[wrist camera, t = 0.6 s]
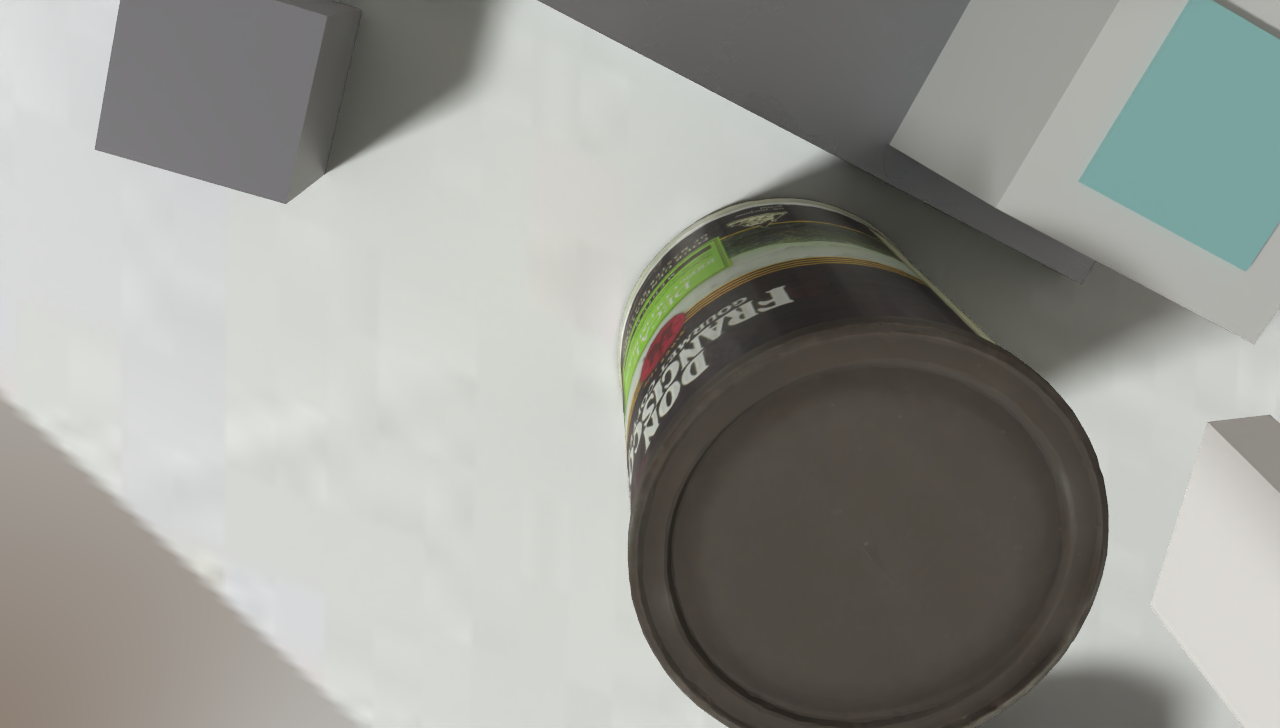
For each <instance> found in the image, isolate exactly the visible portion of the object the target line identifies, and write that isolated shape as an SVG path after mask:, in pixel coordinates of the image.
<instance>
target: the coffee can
mask: <svg viewBox="0 0 1280 728" xmlns="http://www.w3.org/2000/svg"><path fill="white" fill-rule="evenodd" d="M618 373H619V381H620V387H621V390H622V394H623V412H624V423H625V439H626V450H627V467H628V488H629V499H630V508H631V516H630V524H629V532H628V568H629V581H630V586H631V596H632V600H633V604H634V607H635V610H636V614H637V617H638V620H639V623H640V626H641V628H642V631H643V634H644V636H645V638H646V640H647V642H648V644H649V646H650V648H651V649H652V651H653V653H654V654H655V656H656V658H657V659H658V661H659V662H660V664H661V665H662V667H663V669H664V670H665V671H666V673H667V674H668V675H669V677H670V678H671V679H672V680H673V682H674V683H675V684H676V685H677V686H678V687H679V688H680V689H681V691H682V692H683V693H684V694H685V695H687V696H688V697H689V698H690V699H691V700H692V701H693V702H694V703H695V704H696V705H697V706H698V707H700V708H701V709H702V710H704V711H705V712H707V713H708V714H709V715H711V716H712V717H714V718H715V719H717V720H718V721H720V722H721V723H723V724H724V725H726V726H727V727H729V728H975V727H977V726H979V725H981V724H983V723H985V722H987V721H988V720H990V719H992V718H993V717H995V716H996V715H998V714H1000V713H1001V712H1003V711H1004V710H1006V709H1007V708H1008V707H1010V706H1011V705H1012V704H1014V703H1015V702H1016V701H1017V700H1018V699H1019V698H1021V697H1022V696H1024V695H1025V694H1026V693H1027V692H1029V691H1030V690H1031V689H1032V687H1033V686H1035V685H1036V684H1037V683H1038V682H1039V681H1040V680H1041V679H1042V678H1044V677H1045V676H1046V675H1047V673H1048V672H1049V671H1050V670H1051V669H1052V668H1053V667H1054V666H1055V665H1056V663H1057V662H1058V661H1059V660H1060V659H1061V658H1062V656H1063V655H1064V654H1065V652H1066V651H1067V649H1068V648H1069V646H1070V644H1071V643H1072V642H1073V641H1074V639H1075V637H1076V636H1077V634H1078V632H1079V631H1080V629H1081V627H1082V625H1083V623H1084V621H1085V619H1086V617H1087V615H1088V613H1089V611H1090V609H1091V607H1092V605H1093V602H1094V599H1095V596H1096V594H1097V591H1098V588H1099V585H1100V582H1101V578H1102V575H1103V570H1104V566H1105V561H1106V557H1107V547H1108V504H1107V496H1106V490H1105V484H1104V479H1103V475H1102V473H1101V470H1100V467H1099V463H1098V459H1097V456H1096V453H1095V451H1094V449H1093V446H1092V444H1091V442H1090V440H1089V438H1088V436H1087V434H1086V432H1085V430H1084V429H1083V427H1082V425H1081V424H1080V422H1079V420H1078V418H1077V417H1076V415H1075V413H1074V412H1073V410H1072V409H1071V408H1070V407H1069V406H1068V404H1067V403H1066V402H1065V401H1064V400H1063V398H1062V397H1061V396H1060V395H1059V394H1058V393H1057V392H1056V390H1055V389H1054V388H1053V387H1052V386H1051V385H1050V384H1049V383H1048V382H1047V381H1046V380H1045V379H1043V378H1042V377H1041V376H1040V375H1039V374H1038V373H1037V372H1035V371H1034V370H1033V369H1032V368H1030V367H1029V366H1028V365H1026V364H1025V363H1024V362H1022V361H1021V360H1020V359H1018V358H1017V357H1015V356H1014V355H1013V354H1011V353H1010V352H1008V351H1006V350H1005V349H1003V348H1001V347H999V346H998V345H997V344H996V343H995V342H993V341H992V340H991V339H990V338H989V337H988V336H987V335H986V334H985V333H984V332H983V331H982V330H981V329H980V328H979V327H978V326H977V325H976V324H975V323H973V322H972V321H971V320H970V319H969V318H968V317H967V316H966V315H965V314H964V313H963V312H962V311H961V310H960V309H959V308H958V307H957V306H956V305H955V304H954V303H953V302H951V301H950V300H949V299H948V298H947V297H946V296H945V295H944V294H943V293H942V292H941V291H940V290H939V289H938V288H937V287H936V286H935V285H933V284H932V283H931V282H930V281H929V280H928V279H927V278H926V277H925V276H924V275H923V274H922V273H921V272H920V271H919V270H918V269H917V268H915V267H914V266H913V265H912V264H911V263H910V262H909V261H908V260H907V259H906V257H905V256H904V255H903V254H902V252H901V251H900V250H899V249H898V248H897V247H896V246H895V245H894V244H893V243H892V241H891V240H890V239H888V238H887V237H886V236H885V235H884V234H883V233H882V232H881V231H879V230H878V229H876V228H874V227H873V226H872V225H871V224H870V223H869V222H867V221H866V220H864V219H862V218H860V217H858V216H856V215H853V214H851V213H849V212H847V211H845V210H843V209H840V208H837V207H834V206H832V205H828V204H824V203H821V202H816V201H810V200H804V199H789V198H773V199H763V200H755V201H748V202H744V203H740V204H737V205H733V206H730V207H727V208H725V209H722V210H720V211H717V212H715V213H713V214H711V215H708V216H706V217H705V218H703V219H701V220H699V221H697V222H696V223H694V224H693V225H691V226H690V227H688V228H687V229H685V230H684V231H682V232H681V233H680V234H679V235H677V236H676V237H675V238H674V239H673V240H672V241H670V242H669V243H668V244H667V245H666V246H665V247H664V248H663V249H662V250H661V251H660V252H659V253H658V254H657V256H656V257H655V258H654V259H653V260H652V261H651V263H650V264H649V265H648V266H647V267H646V269H645V270H644V271H643V273H642V275H641V276H640V278H639V280H638V282H637V283H636V285H635V287H634V289H633V291H632V293H631V296H630V298H629V300H628V303H627V306H626V309H625V312H624V315H623V318H622V323H621V328H620V334H619V341H618Z"/></svg>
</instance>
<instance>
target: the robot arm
mask: <svg viewBox="0 0 1280 728" xmlns="http://www.w3.org/2000/svg"><path fill="white" fill-rule="evenodd" d="M1150 607H1151V608H1152V609H1153V611H1154V612H1155V613H1156V615H1157V616H1158V617H1159V619H1160V620H1161V621H1162V622H1163V624H1164V625H1165V626H1166V628H1167V629H1168V630H1169V631H1170V633H1171V634H1172V635H1173V637H1174V638H1175V639H1176V641H1177V642H1178V643H1179V644H1180V646H1181V647H1182V648H1183V650H1184V651H1185V652H1186V653H1187V655H1188V656H1189V657H1190V659H1191V660H1192V661H1193V663H1194V664H1195V665H1196V666H1197V668H1198V669H1199V670H1200V672H1201V673H1202V674H1203V675H1204V677H1205V678H1206V679H1207V681H1208V682H1209V683H1210V684H1211V686H1212V687H1213V688H1214V690H1215V691H1216V692H1217V694H1218V695H1219V696H1220V697H1221V699H1222V700H1223V701H1224V703H1225V704H1226V705H1227V706H1228V708H1229V709H1230V710H1231V712H1232V713H1233V714H1234V716H1235V717H1236V718H1237V719H1238V721H1239V722H1240V723H1241V725H1242V726H1243V727H1244V728H1280V423H1278V422H1277V421H1276V420H1275V419H1274V418H1273V417H1272V416H1271V415H1264V416H1256V417H1247V418H1238V419H1230V420H1221V421H1212V422H1208V423H1207V426H1206V429H1205V432H1204V435H1203V439H1202V442H1201V445H1200V448H1199V451H1198V455H1197V458H1196V461H1195V464H1194V467H1193V471H1192V474H1191V477H1190V480H1189V483H1188V487H1187V490H1186V493H1185V496H1184V499H1183V503H1182V506H1181V509H1180V512H1179V515H1178V519H1177V522H1176V525H1175V528H1174V531H1173V535H1172V538H1171V541H1170V544H1169V547H1168V550H1167V554H1166V557H1165V560H1164V563H1163V566H1162V570H1161V573H1160V576H1159V579H1158V582H1157V586H1156V589H1155V592H1154V595H1153V598H1152V602H1151V605H1150Z"/></svg>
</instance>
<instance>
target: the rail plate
mask: <svg viewBox="0 0 1280 728" xmlns="http://www.w3.org/2000/svg"><path fill="white" fill-rule="evenodd" d="M538 1H540V2H542V3H544V4H546V5H548V6H550V7H552V8H553V9H555V10H557V11H559V12H561V13H563V14H565V15H567V16H569V17H571V18H573V19H575V20H576V21H578V22H580V23H582V24H584V25H586V26H588V27H590V28H592V29H594V30H596V31H598V32H599V33H601V34H603V35H605V36H607V37H609V38H611V39H613V40H615V41H617V42H619V43H620V44H622V45H624V46H626V47H628V48H630V49H632V50H634V51H636V52H638V53H640V54H642V55H643V56H645V57H647V58H649V59H651V60H653V61H655V62H657V63H659V64H661V65H663V66H665V67H666V68H668V69H670V70H672V71H674V72H676V73H678V74H680V75H682V76H684V77H686V78H687V79H689V80H691V81H693V82H695V83H697V84H699V85H701V86H703V87H705V88H707V89H709V90H710V91H712V92H714V93H716V94H718V95H720V96H722V97H724V98H726V99H728V100H730V101H732V102H733V103H735V104H737V105H739V106H741V107H743V108H745V109H747V110H749V111H751V112H753V113H755V114H756V115H758V116H760V117H762V118H764V119H766V120H768V121H770V122H772V123H774V124H776V125H777V126H779V127H781V128H783V129H785V130H787V131H789V132H791V133H793V134H795V135H797V136H799V137H800V138H802V139H804V140H806V141H808V142H810V143H812V144H814V145H816V146H818V147H820V148H822V149H823V150H825V151H827V152H829V153H831V154H833V155H835V156H837V157H839V158H841V159H843V160H844V161H846V162H848V163H850V164H852V165H854V166H856V167H858V168H860V169H862V170H864V171H866V172H867V173H869V174H871V175H873V176H875V177H877V178H879V179H881V180H883V181H885V182H887V183H889V184H890V185H892V186H894V187H896V188H898V189H900V190H902V191H904V192H906V193H908V194H910V195H912V196H913V197H915V198H917V199H919V200H921V201H923V202H925V203H927V204H929V205H931V206H933V207H934V208H936V209H938V210H940V211H942V212H944V213H946V214H948V215H950V216H952V217H954V218H956V219H957V220H959V221H961V222H963V223H965V224H967V225H969V226H971V227H973V228H975V229H977V230H979V231H980V232H982V233H984V234H986V235H988V236H990V237H992V238H994V239H996V240H998V241H1000V242H1001V243H1003V244H1005V245H1007V246H1009V247H1011V248H1013V249H1015V250H1017V251H1019V252H1021V253H1023V254H1024V255H1026V256H1028V257H1030V258H1032V259H1034V260H1036V261H1038V262H1040V263H1042V264H1044V265H1046V266H1047V267H1049V268H1051V269H1053V270H1055V271H1057V272H1059V273H1061V274H1063V275H1065V276H1067V277H1069V278H1070V279H1072V280H1074V281H1076V282H1078V283H1080V284H1081V283H1082V281H1083V280H1084V278H1085V277H1086V275H1087V274H1088V272H1089V270H1090V269H1091V267H1092V266H1093V264H1094V262H1095V260H1094V259H1092V258H1090V257H1088V256H1086V255H1084V254H1082V253H1080V252H1078V251H1076V250H1075V249H1073V248H1071V247H1069V246H1067V245H1065V244H1063V243H1061V242H1059V241H1058V240H1056V239H1054V238H1052V237H1050V236H1048V235H1046V234H1044V233H1042V232H1040V231H1039V230H1037V229H1035V228H1033V227H1031V226H1029V225H1027V224H1025V223H1023V222H1021V221H1020V220H1018V219H1016V218H1014V217H1012V216H1010V215H1008V214H1006V213H1004V212H1003V211H1001V210H999V209H997V208H995V207H993V206H992V205H990V204H988V203H987V202H985V201H983V200H982V199H980V198H978V197H976V196H975V195H973V194H971V193H970V192H968V191H966V190H965V189H963V188H961V187H960V186H958V185H956V184H955V183H953V182H951V181H949V180H948V179H946V178H944V177H943V176H941V175H939V174H938V173H936V172H934V171H933V170H931V169H929V168H928V167H926V166H924V165H923V164H921V163H919V162H917V161H916V160H914V159H912V158H911V157H909V156H907V155H906V154H904V153H902V152H901V151H899V150H897V149H896V148H894V147H892V146H890V145H889V144H890V143H891V141H892V139H893V137H894V135H895V134H896V132H897V130H898V128H899V127H900V125H901V123H902V121H903V119H904V118H905V116H906V114H907V112H908V111H909V109H910V107H911V105H912V103H913V102H914V100H915V98H916V96H917V95H918V93H919V91H920V89H921V87H922V86H923V84H924V82H925V80H926V79H927V77H928V75H929V73H930V71H931V70H932V68H933V66H934V64H935V63H936V61H937V59H938V57H939V55H940V54H941V52H942V50H943V48H944V47H945V45H946V43H947V41H948V40H949V38H950V36H951V34H952V32H953V31H954V29H955V27H956V25H957V24H958V22H959V20H960V18H961V16H962V15H963V13H964V11H965V9H966V8H967V6H968V4H969V2H970V0H538Z"/></svg>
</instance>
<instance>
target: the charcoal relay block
mask: <svg viewBox="0 0 1280 728" xmlns="http://www.w3.org/2000/svg"><path fill="white" fill-rule="evenodd" d="M361 12H362V10H361V9H358V8H354V7H351V6H348V5H345V4H341V3H338V2H335V1H332V0H120V5H119V10H118V16H117V22H116V28H115V34H114V40H113V46H112V51H111V57H110V63H109V69H108V75H107V81H106V86H105V92H104V98H103V104H102V110H101V116H100V122H99V127H98V133H97V139H96V145H95V150H98V151H102V152H105V153H109V154H112V155H116V156H119V157H123V158H126V159H130V160H133V161H137V162H140V163H144V164H147V165H151V166H154V167H158V168H161V169H165V170H168V171H172V172H175V173H179V174H182V175H186V176H189V177H193V178H196V179H200V180H203V181H207V182H210V183H214V184H217V185H221V186H224V187H228V188H231V189H235V190H238V191H242V192H245V193H249V194H252V195H256V196H259V197H263V198H266V199H270V200H274V201H277V202H281V203H284V204H287V203H288V202H289V201H291V200H292V199H293V198H294V197H296V196H297V195H298V194H300V193H301V192H302V191H304V190H305V189H306V188H307V187H309V186H310V185H311V184H313V183H314V182H315V181H317V180H318V179H319V178H320V177H322V176H323V175H324V174H325V170H326V166H327V162H328V157H329V153H330V148H331V144H332V140H333V135H334V131H335V126H336V122H337V118H338V113H339V109H340V105H341V100H342V96H343V91H344V87H345V83H346V78H347V74H348V69H349V65H350V61H351V56H352V52H353V48H354V43H355V39H356V34H357V30H358V26H359V21H360V17H361Z"/></svg>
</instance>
